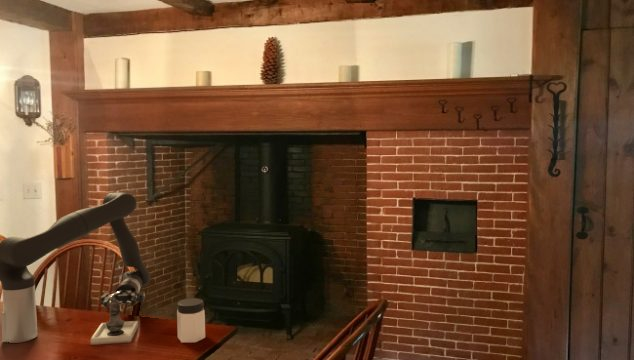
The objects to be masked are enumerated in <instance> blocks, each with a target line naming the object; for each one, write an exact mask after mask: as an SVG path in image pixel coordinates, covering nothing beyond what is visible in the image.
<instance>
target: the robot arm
mask: <svg viewBox="0 0 634 360" xmlns="http://www.w3.org/2000/svg"><path fill="white" fill-rule="evenodd" d="M136 208H137V200H136V197H135V196H134V195H132V194H131V193H128V192H121V191H120V192H119V191H118V192H110V193H109V192H108V193H107V194H106V195H105V197H103V201H102V204H100V205H97V206H92V207H87V208H82V209H79V210H75V211H73V212H71V213H68V214H66V215H63V216H62V217H60V218H58V219H57V220H56V221H55V222H54V223H53V224H52V225H51V226H50V227H48V229H46V230H44V231H42V232H40V233H38V234H35V235H33V236H30V237H29V236H28V237H18V236H8V237H6V238H4V239H2V240H1V241H0V283H1V288H2V289H1V291H2V293H1V295H2V306H3V311H2V312H1V313H0V321H1V336H2V337H1V338H2V339H1V340H2V343H8V342H9V343H10V344H17V343H19V344H20V343H25V342H28V341H31V340H33V339H35V338H36V337H38V326H37V325H38V323H37V321H38V320H37V305H36V304H37V303H36V302H37V301H36V281H35V276H34V275H33V274H32V273H31V272H30V271H29V269H28V267H29V266H30V265H32V264H34V263H36V262H37V261H38V260H40V259H42V258H44V257H45V256H47V255H48V254H50V253H51V252H53V251H56V250H57V249H59V248H62V247H64V246H66V245H68V244H70V243H73V242H74V241H76V240H78V239H80V238H83V237H85V236H87V235H88V234H90V233H92V232H94V231H96V230H98V229H100V228H102V227H103V226H106V225H108V224H109V225H110V227H111V229H112V231H113V234H114V236H115V238H116V243H117V245H118V248H119V251H120V256H121V260H122V264H123V266H124V267H126V268H135V269H134V270H135V271H136V272H135V271H132V270H128V271H125V272H124V273H123V275H122V282H120V283H119V285H118V287H117V288H116V289H115V292H113V293H111V294H109V292H105V293H104V294H103V295H101V296H100V305H101V306H103V307H104V308H106V309H107V308H109V307H110V302H111V301H113V299H114V298H115V300H117V301H118V302H119V304H120V303H121V304H125V305H128V304H130V306H131V307H134V306H135V305H137V303H138V302H139V303H144V300H145V299H146V298H145V297H146V295H145V290H141V289H142V287H145V286H147V285H149V284H150V282H151V274H150V272H149V270H148V268H147V267H146V264H145V263H144V261H143V259H142V255H141V251H140V248H139V244H138V242H137V239H136V238H135V236H134V235H133V233H132V232H131V230H130V229H129V227H128V225H127V223H126V221H125V217H127V216H131V214H132V213H133V212H134V211H135V210H136ZM129 271H131V272H129ZM139 303H138V304H139Z"/></svg>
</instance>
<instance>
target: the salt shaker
mask: <svg viewBox="0 0 634 360" xmlns="http://www.w3.org/2000/svg"><path fill="white" fill-rule="evenodd" d="M110 301H111V300H110ZM110 301H109V302H110ZM108 313H109V317H110V318H109V321H107V322H105V323H106V326H107V328H108V330H109V332H108V333H107V335H108V336H119V335H122V334H123V333H124V331H123V330H121V329H122V328H123V325H124V322H126V321H125V320H124V319H121V315H120V314H121V310H120V302H118V301H117V300H115V298H114V299H113V301H111V302H110V305H109V311H108Z"/></svg>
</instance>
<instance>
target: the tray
mask: <svg viewBox="0 0 634 360" xmlns="http://www.w3.org/2000/svg"><path fill="white" fill-rule="evenodd" d="M106 323H107V322H101V323H100V325H99V326H98V327H97V329H96V330H95V332H94V333H93V334H92V336H91V337H90V345H93V346H95V345H108V344H121V343H131V342H132V340H133V338H134V336H135V333H136V332H137V330H138V327H139V321H138V320H130V321H125V322H124V325H123V328H122V329H121V330H123V331H124V333H123V334H122V335H119V336H108V335H107V333H108V332H109V330H108V328H107V326H106Z"/></svg>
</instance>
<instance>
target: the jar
mask: <svg viewBox="0 0 634 360" xmlns="http://www.w3.org/2000/svg"><path fill="white" fill-rule="evenodd" d="M204 306H205V305H204V300H203V299H201V298H185V299H181V300H179V301H178V302H177V310H176V323H177V324H176V325H177V326H176V327H177V328H176V329H177V339H178V340H179V341H180V343H197V342H199V341H202V340H203V339H205V338H206V315H205V313H206V312H205V308H204Z"/></svg>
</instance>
